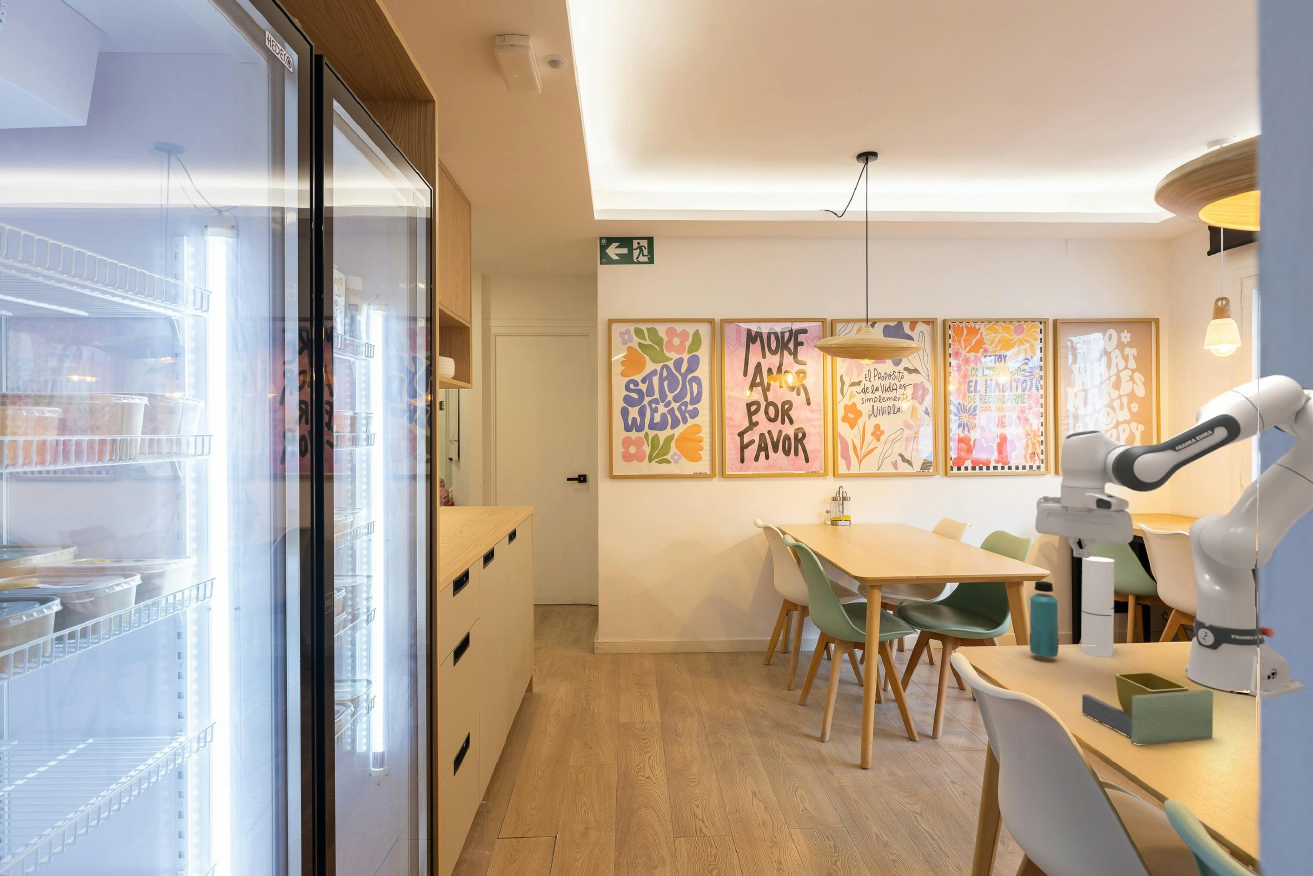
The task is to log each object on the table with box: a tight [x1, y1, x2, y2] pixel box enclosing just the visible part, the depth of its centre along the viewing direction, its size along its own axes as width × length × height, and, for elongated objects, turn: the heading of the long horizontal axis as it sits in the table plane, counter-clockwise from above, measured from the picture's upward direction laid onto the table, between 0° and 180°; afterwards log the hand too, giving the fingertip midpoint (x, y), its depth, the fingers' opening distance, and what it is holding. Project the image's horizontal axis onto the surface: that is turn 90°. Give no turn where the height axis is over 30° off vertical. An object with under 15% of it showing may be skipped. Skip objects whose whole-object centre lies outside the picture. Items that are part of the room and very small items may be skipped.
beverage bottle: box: [1029, 580, 1060, 658], centre depth 174 cm, size 6×7×20 cm
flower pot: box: [1115, 671, 1190, 715], centre depth 135 cm, size 9×9×9 cm
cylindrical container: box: [1080, 556, 1115, 658], centre depth 179 cm, size 7×7×25 cm
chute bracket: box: [1081, 689, 1214, 745], centre depth 134 cm, size 17×14×9 cm
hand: (1081, 557), depth 159 cm, fingers closed
